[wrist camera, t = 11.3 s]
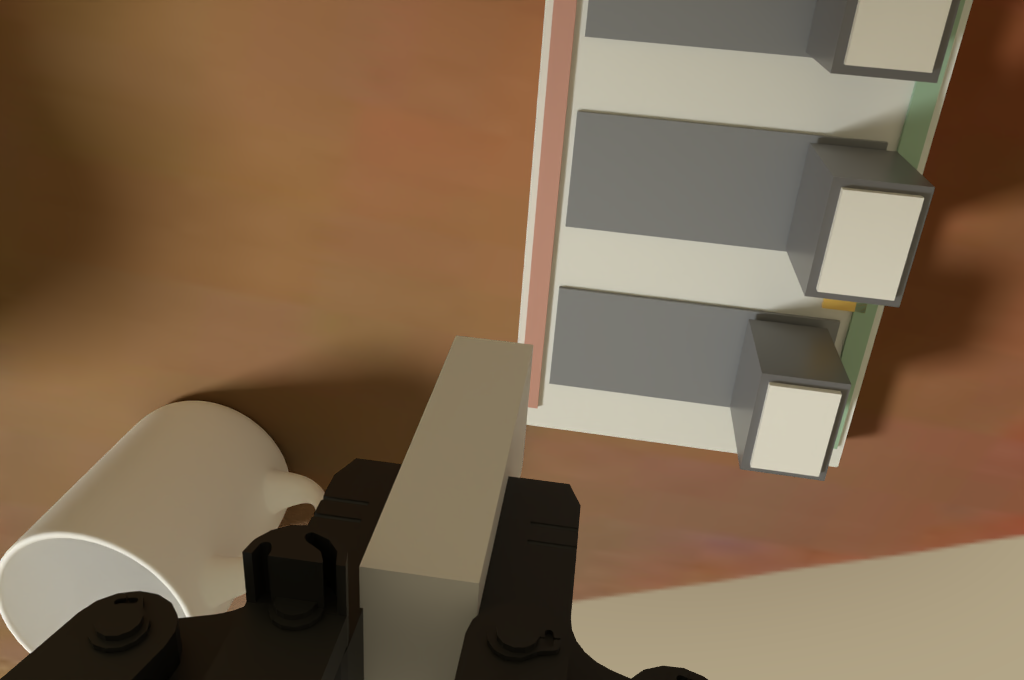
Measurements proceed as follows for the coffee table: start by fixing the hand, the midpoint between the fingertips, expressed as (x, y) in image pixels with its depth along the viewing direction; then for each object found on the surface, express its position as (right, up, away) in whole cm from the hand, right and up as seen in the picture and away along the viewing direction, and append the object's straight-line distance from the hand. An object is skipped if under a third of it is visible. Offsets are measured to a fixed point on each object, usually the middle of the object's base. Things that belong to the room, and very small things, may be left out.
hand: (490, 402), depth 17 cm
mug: (-13, -5, +27) cm, 30 cm away
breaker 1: (+11, 0, +17) cm, 21 cm away
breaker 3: (+12, +6, +14) cm, 20 cm away
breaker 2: (+12, +13, +11) cm, 21 cm away
